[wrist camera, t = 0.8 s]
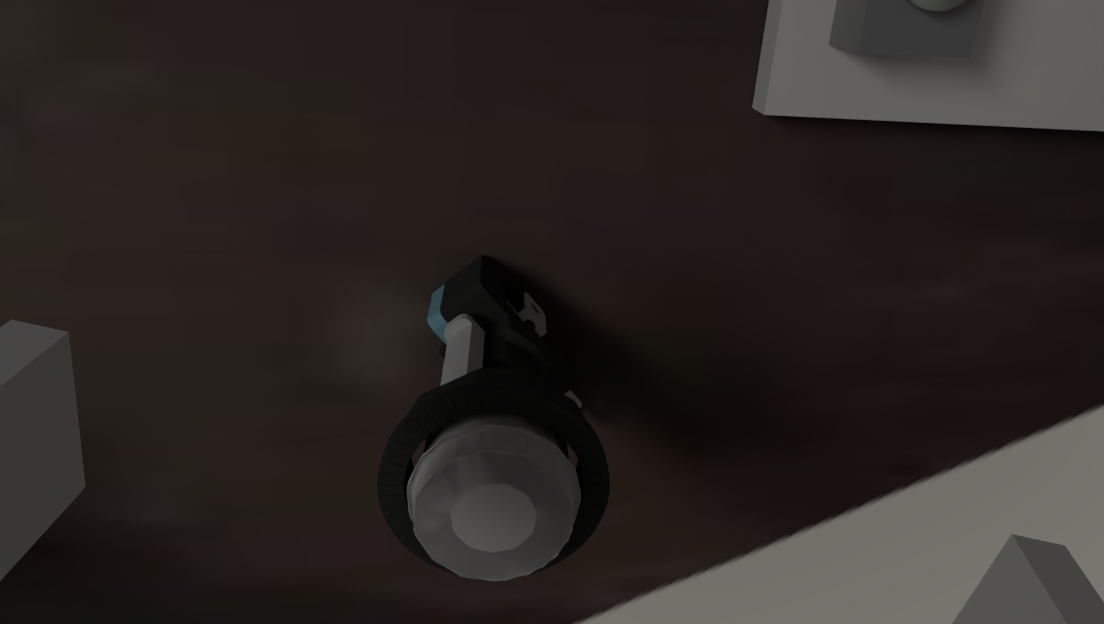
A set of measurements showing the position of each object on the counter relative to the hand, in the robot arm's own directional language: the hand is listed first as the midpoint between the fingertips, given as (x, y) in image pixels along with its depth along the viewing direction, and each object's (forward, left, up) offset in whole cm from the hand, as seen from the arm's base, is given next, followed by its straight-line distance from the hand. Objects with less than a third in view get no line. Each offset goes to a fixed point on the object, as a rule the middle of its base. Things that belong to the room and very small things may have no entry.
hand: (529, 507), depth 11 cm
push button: (+5, 0, -15) cm, 16 cm away
